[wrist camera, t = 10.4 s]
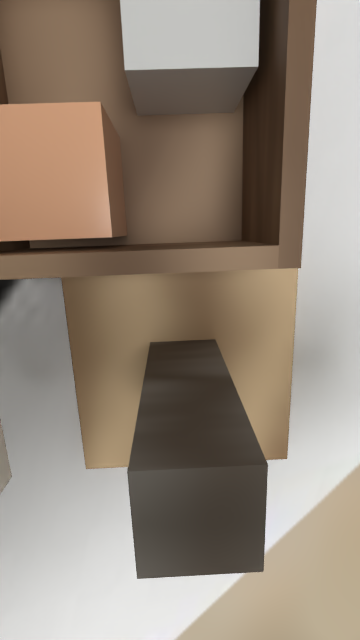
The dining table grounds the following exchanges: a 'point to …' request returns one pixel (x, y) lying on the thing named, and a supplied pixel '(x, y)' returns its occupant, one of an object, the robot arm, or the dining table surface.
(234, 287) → the lid
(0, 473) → the robot arm
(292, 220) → the box
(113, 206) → the cube terracotta
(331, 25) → the dining table surface
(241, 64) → the cube grey
